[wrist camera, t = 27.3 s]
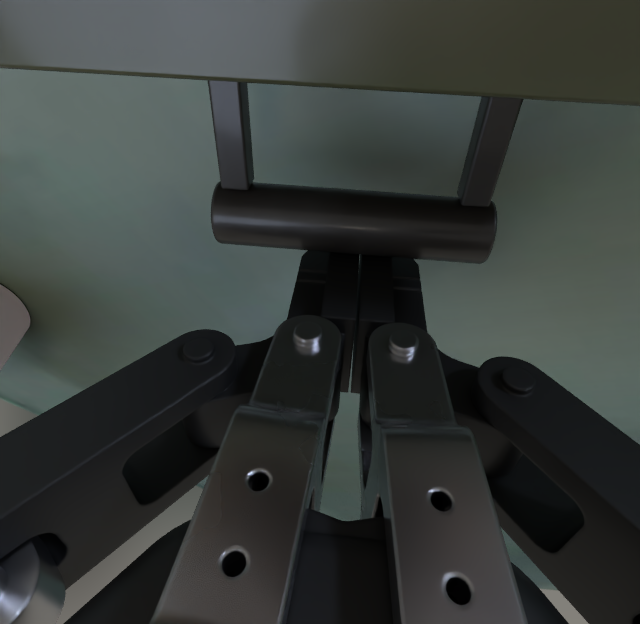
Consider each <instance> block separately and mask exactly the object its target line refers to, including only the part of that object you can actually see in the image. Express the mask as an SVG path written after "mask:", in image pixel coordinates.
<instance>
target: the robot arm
mask: <svg viewBox="0 0 640 624" xmlns="http://www.w3.org/2000/svg"><path fill="white" fill-rule="evenodd" d="M358 270H359V272H358ZM353 341H354V345H353ZM352 351H353V363H352V381H351V393H360V407H359V414H358V444H359V465H360V485H361V515H360V520H355V521H341V520H338V519H336V518H333V517H330V516H328V515H325V514H323V513H320V504H321V497H322V491H323V485H324V479H325V474H326V468H327V462H328V457H329V451H330V445H331V440H332V434H333V428H334V423H335V416H336V414H337V412H338V408H339V400H340V392H348V388H349V379H350V369H351V360H352ZM208 475H209V476H208ZM207 476H208V479H207V481H206V484H205V486H204V489H203V492H202V494H201V496H200V499H199V501H198V504H197V506H196V509H195V512H194V515H193V517H192V519H191V520H189V521H187V522H185V523H183V524H182V525H180V526H178V527H176V528H174V529H173V530H171V531H170V532H168V533H167V534H166V535H164V536H163V537H161V538H160V539H159V540H157V541H156V542H155V543H154V544H153V545H151V546H150V547H149V548H148V549H147V550H146V551H145V552H144V553H142V554H141V555H140V556H139V557H138V558H137V559H136V560H135V561H133V562H132V563H131V564H130V565H129V566H128V567H127V568H126V569H124V570H123V571H122V572H121V573H120V574H119V575H118V576H117V577H116V578H114V579H113V580H112V581H111V582H110V583H109V584H108V585H107V586H105V587H104V588H103V589H102V590H101V591H100V592H99V593H98V594H97V595H95V596H94V597H93V598H92V599H91V600H90V601H89V602H87V604H85V605H84V606H83V607H82V608H81V609H80V610H79V611H77V612H76V613H75V614H74V615H73V616H72V617H71V618H70V619H68V620H67V621H66V622H65V623H64V624H568V622H567V621H566V620H565V619H564V617H563V616H562V615H561V614H560V613H559V612H558V610H557V609H556V608H555V607H554V606H553V604H552V603H551V602H550V601H549V600H548V599H547V597H546V596H545V595H544V594H543V593H542V591H541V590H540V589H539V588H538V587H537V586H536V585H535V584H534V582H533V581H531V580H530V579H529V578H528V577H527V576H526V575H525V574H524V573H523V572H522V571H521V570H520V569H519V568H518V567H516V566H515V565H514V564H513V563H512V562H510V558H509V555H508V551H507V548H506V544H505V541H504V537H503V534H502V530H501V528H502V529H503V530H504V531H505V532H506V533H507V534H508V535H509V536H510V537H511V539H512V540H513V541H514V542H515V543H516V544H517V545H518V546H519V547H520V548H521V549H522V551H523V552H524V553H525V554H526V555H527V556H528V557H529V558H530V559H531V560H532V562H533V563H534V564H535V565H536V566H537V567H538V568H539V569H540V570H541V571H542V573H543V574H544V575H545V576H546V577H547V578H548V579H549V580H550V581H551V582H552V584H553V585H554V586H555V587H556V588H557V589H558V590H559V591H560V592H561V593H562V594H563V596H564V597H565V598H566V599H567V600H568V601H569V602H570V603H571V604H572V605H573V606H574V608H575V609H576V610H577V611H578V612H579V613H580V614H581V615H582V616H583V617H584V619H585V620H586V621H587V622H588V623H589V624H640V445H639V444H638V443H636V442H635V441H634V440H632V439H631V438H630V437H628V436H627V435H626V434H624V433H623V432H622V431H620V430H619V429H618V428H617V427H615V426H614V425H613V424H611V423H610V422H609V421H607V420H606V419H605V418H603V417H602V416H601V415H599V414H598V413H597V412H595V411H594V410H593V409H591V408H590V407H589V406H587V405H586V404H585V403H583V402H582V401H581V400H579V399H578V398H577V397H575V396H574V395H573V394H571V393H570V392H569V391H567V390H566V389H565V388H564V387H562V386H561V385H560V384H558V383H557V382H556V381H554V380H553V379H552V378H550V377H549V376H548V375H546V374H545V373H544V372H542V371H541V370H540V369H538V368H537V367H535V366H534V365H532V364H530V363H528V362H526V361H523V360H520V359H517V358H512V357H495V358H491V359H489V360H487V361H485V362H484V363H483V364H482V365H481V366H480V368H478V367H475V366H472V365H469V364H466V363H463V362H460V361H458V360H455V359H453V358H451V357H449V356H447V355H445V354H444V353H442V352H441V351H440V350H438V349H437V345H436V343H435V341H434V339H433V338H432V337H431V336H430V335H429V334H428V333H427V328H426V320H425V312H424V305H423V297H422V292H421V282H420V274H419V267H418V264H417V263H416V262H415V260H414V259H412V258H399V257H386V256H374V255H361V254H360V262H359V254H349V253H336V252H323V251H311V250H308V251H307V252H306V253H305V254H304V255H303V256H302V258H301V262H300V267H299V271H298V275H297V280H296V283H295V288H294V292H293V296H292V300H291V305H290V309H289V313H288V317H287V320H286V321H284V322H283V323H282V324H281V325H280V326H279V327H278V328H277V330H276V332H275V334H274V336H272V337H270V338H268V339H266V340H263V341H260V342H256V343H250V344H244V345H237V346H235V345H234V342H233V341H232V339H231V338H230V337H229V336H227V335H226V334H224V333H222V332H219V331H216V330H209V329H203V330H195V331H191V332H188V333H185V334H183V335H181V336H179V337H178V338H176V339H174V340H172V341H170V342H169V343H167V344H165V345H163V346H162V347H160V348H158V349H156V350H154V351H153V352H151V353H149V354H147V355H146V356H144V357H142V358H140V359H138V360H137V361H135V362H133V363H131V364H130V365H128V366H126V367H124V368H122V369H121V370H119V371H117V372H115V373H114V374H112V375H110V376H108V377H106V378H105V379H103V380H101V381H99V382H98V383H96V384H94V385H92V386H90V387H89V388H87V389H85V390H83V391H82V392H80V393H78V394H76V395H74V396H73V397H71V398H69V399H67V400H66V401H64V402H62V403H60V404H58V405H57V406H55V407H53V408H51V409H50V410H48V411H46V412H44V413H42V414H41V415H39V416H37V417H36V418H34V419H32V420H30V421H28V422H27V423H25V424H23V425H21V426H19V427H18V428H16V429H14V430H12V431H11V432H9V433H7V434H5V435H3V436H2V437H0V624H56V622H57V620H58V618H59V616H60V614H61V611H62V608H63V605H64V600H65V590H66V589H67V588H68V587H70V586H71V585H72V584H73V583H75V582H76V581H77V580H79V579H80V578H81V577H82V576H83V575H85V574H86V573H87V572H88V571H90V570H91V569H92V568H93V567H95V566H96V565H97V564H98V563H99V562H101V561H102V560H103V559H105V558H106V557H107V556H108V555H110V554H111V553H112V552H113V551H115V550H116V549H117V548H118V547H119V546H121V545H122V544H123V543H124V542H126V541H127V540H128V539H129V538H131V537H132V536H133V535H134V534H136V533H137V532H138V531H139V530H141V529H142V528H143V527H144V526H146V525H147V524H148V523H149V522H151V521H152V520H153V519H154V518H156V517H157V516H158V515H159V514H160V513H162V512H163V511H164V510H165V509H167V508H168V507H169V506H171V505H172V504H173V503H174V502H176V501H177V500H178V499H179V498H180V497H182V496H183V495H184V494H185V493H187V492H188V491H189V490H190V489H192V488H193V487H194V486H195V485H197V484H198V483H199V482H200V481H202V480H203V479H204V478H205V477H207ZM500 526H501V527H500Z"/></svg>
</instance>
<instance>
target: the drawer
mask: <svg viewBox="0 0 640 624" xmlns="http://www.w3.org/2000/svg"><path fill="white" fill-rule="evenodd" d="M0 68H8V69H25V70H42V71H59V72H76V73H93V74H110V75H127V76H143V77H160V78H177V79H194V80H208V86H209V94H210V101H211V109H212V117H213V125H214V133H215V141H216V149H217V157H218V164H219V172H220V180H221V181H220V182H218V183H217V185H216V187H215V189H214V193H213V197H212V203H211V223H212V229H213V233H214V236H215V239H216V240H217V241H218V242H220V243H223V244H235V245H248V246H260V247H273V248H286V249H298V250H311V251H323V252H336V253H349V254H361V255H374V256H386V257H399V258H412V259H424V260H437V261H449V262H462V263H475V264H480V263H483V262H485V261H486V260H487V258H488V257H489V255H490V253H491V250H492V248H493V244H494V241H495V236H496V230H497V211H496V206H495V204H494V202H493V201H491V199H492V196H493V193H494V190H495V187H496V184H497V180H498V177H499V174H500V171H501V168H502V165H503V161H504V158H505V155H506V152H507V149H508V146H509V143H510V139H511V136H512V133H513V130H514V127H515V124H516V120H517V117H518V114H519V111H520V108H521V105H522V102H523V99H532V100H548V101H565V102H582V103H599V104H616V105H633V106H640V0H0ZM247 83H262V84H278V85H295V86H312V87H329V88H346V89H363V90H380V91H397V92H413V93H430V94H447V95H464V96H481V97H482V98H481V102H480V106H479V109H478V113H477V117H476V121H475V125H474V129H473V133H472V137H471V140H470V144H469V148H468V152H467V156H466V160H465V164H464V168H463V172H462V175H461V179H460V183H459V187H458V191H457V194H458V197H449V196H435V195H421V194H407V193H393V192H379V191H365V190H351V189H337V188H323V187H309V186H295V185H281V184H267V183H253V180H254V170H253V157H252V143H251V129H250V116H249V102H248V88H247Z"/></svg>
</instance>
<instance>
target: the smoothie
mask: <svg viewBox="0 0 640 624" xmlns="http://www.w3.org/2000/svg"><path fill="white" fill-rule="evenodd" d="M29 326H30V315H29V313H28V310H27V309H26V307H25V306H24V304H23V303H22V302H21V300H20V299H19V298H18V297H17V296H16V295H14V294H13V293H12V292H11V291H10V290H8V289H7V288H5V287H4V286H2V285H1V284H0V371H1V369H2V368H3V366H4V365H5V363H6V362H7V360H8V359H9V357H10V356H11V354H12V352H13V351H14V349H15V348H16V346H17V345H18V343H19V342H20V340H21V339H22V337H23V336H24V334H25V333H26V331H27V330H28V328H29Z"/></svg>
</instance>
